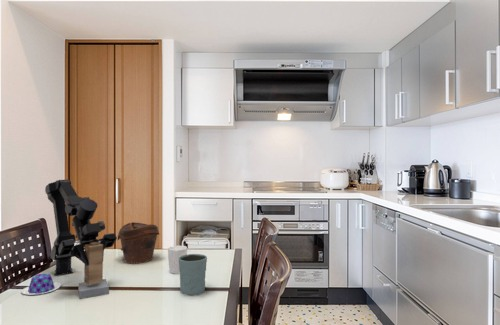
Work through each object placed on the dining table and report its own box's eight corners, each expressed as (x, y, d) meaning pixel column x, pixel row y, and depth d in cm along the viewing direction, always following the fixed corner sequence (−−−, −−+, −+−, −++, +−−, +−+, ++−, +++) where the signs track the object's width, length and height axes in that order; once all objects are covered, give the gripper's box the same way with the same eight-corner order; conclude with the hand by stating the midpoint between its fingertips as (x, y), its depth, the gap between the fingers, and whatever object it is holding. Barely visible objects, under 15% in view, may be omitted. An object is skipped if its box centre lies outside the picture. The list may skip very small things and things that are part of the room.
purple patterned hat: (30, 299, 110) (30, 283, 110) (15, 291, 116) (15, 277, 116) (67, 288, 119) (67, 274, 120) (51, 282, 126) (51, 268, 126)
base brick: (78, 290, 117) (78, 283, 117) (105, 285, 122) (105, 278, 122) (79, 298, 109) (79, 291, 109) (108, 293, 114) (108, 286, 114)
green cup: (182, 298, 110) (182, 262, 111) (175, 288, 119) (175, 255, 120) (210, 293, 115) (211, 258, 115) (201, 283, 124) (201, 252, 124)
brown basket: (128, 253, 166) (128, 218, 166) (165, 255, 164) (165, 219, 164) (108, 264, 149) (108, 225, 149) (149, 266, 146) (150, 226, 146)
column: (84, 281, 116) (84, 242, 116) (97, 278, 119) (97, 240, 119) (89, 284, 112) (89, 244, 113) (102, 281, 116) (103, 242, 116)
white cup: (182, 274, 134) (182, 250, 135) (164, 273, 136) (164, 249, 136) (189, 269, 142) (189, 246, 142) (172, 267, 144) (172, 245, 144)
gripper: (61, 217, 112) (72, 255, 104) (115, 211, 125) (128, 245, 118) (53, 236, 117) (63, 274, 109) (106, 229, 131) (118, 263, 123)
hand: (95, 263), depth 115 cm, fingers closed on column, 4 cm apart
